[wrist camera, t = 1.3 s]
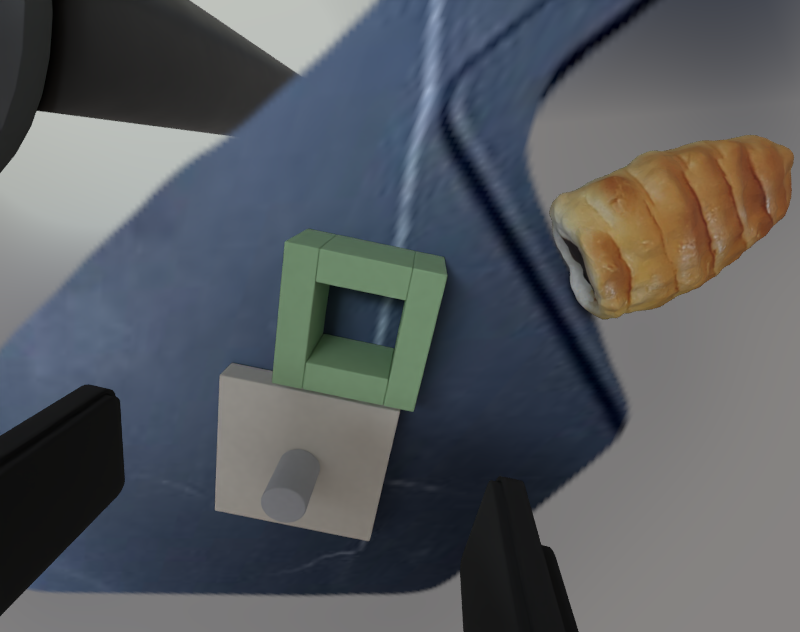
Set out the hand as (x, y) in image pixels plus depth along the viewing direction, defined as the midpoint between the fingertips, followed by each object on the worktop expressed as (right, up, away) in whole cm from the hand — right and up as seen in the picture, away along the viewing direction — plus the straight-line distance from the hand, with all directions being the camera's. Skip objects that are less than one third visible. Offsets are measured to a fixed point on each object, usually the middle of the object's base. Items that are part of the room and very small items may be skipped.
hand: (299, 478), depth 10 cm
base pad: (-3, -4, +15) cm, 16 cm away
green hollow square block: (+1, +5, +11) cm, 12 cm away
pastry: (+14, +9, +9) cm, 19 cm away
